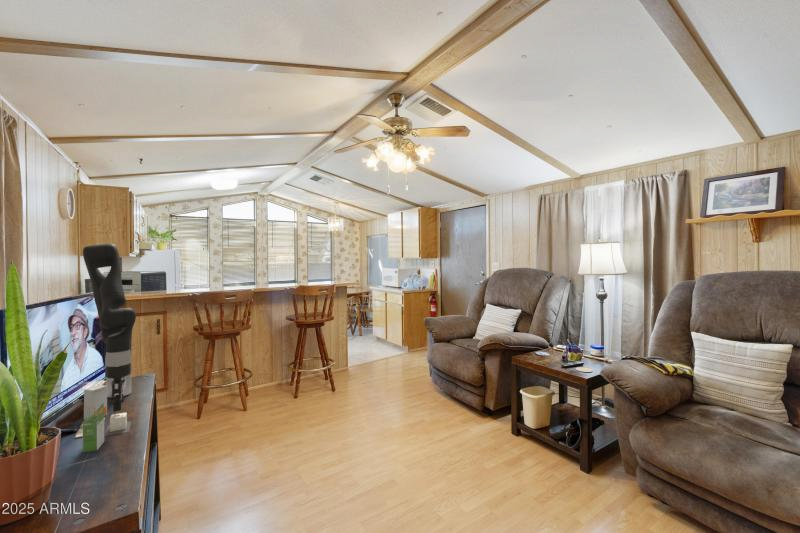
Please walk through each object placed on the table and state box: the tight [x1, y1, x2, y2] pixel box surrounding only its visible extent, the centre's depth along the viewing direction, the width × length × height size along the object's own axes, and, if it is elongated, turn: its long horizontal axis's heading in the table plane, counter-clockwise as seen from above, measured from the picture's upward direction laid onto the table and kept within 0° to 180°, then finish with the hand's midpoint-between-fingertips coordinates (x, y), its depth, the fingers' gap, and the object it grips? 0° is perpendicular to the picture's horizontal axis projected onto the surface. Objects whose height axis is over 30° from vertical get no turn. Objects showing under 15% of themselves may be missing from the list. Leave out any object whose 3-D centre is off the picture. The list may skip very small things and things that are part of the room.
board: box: [73, 417, 107, 440], centre depth 135 cm, size 15×7×1 cm, turn 33°
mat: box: [104, 420, 132, 437], centre depth 135 cm, size 10×7×1 cm
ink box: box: [82, 403, 105, 453], centre depth 122 cm, size 7×4×13 cm, turn 23°
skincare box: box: [83, 384, 108, 421], centre depth 145 cm, size 6×4×12 cm
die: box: [109, 412, 128, 432], centre depth 136 cm, size 4×4×5 cm
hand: (118, 406), depth 135 cm, fingers open, 8 cm apart
